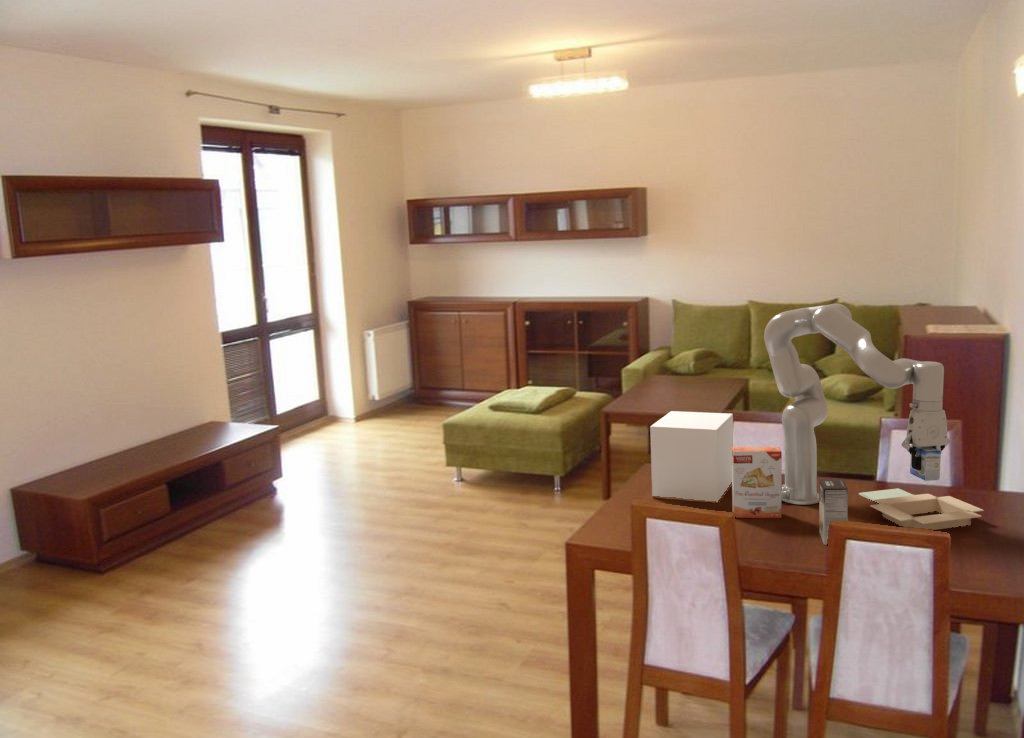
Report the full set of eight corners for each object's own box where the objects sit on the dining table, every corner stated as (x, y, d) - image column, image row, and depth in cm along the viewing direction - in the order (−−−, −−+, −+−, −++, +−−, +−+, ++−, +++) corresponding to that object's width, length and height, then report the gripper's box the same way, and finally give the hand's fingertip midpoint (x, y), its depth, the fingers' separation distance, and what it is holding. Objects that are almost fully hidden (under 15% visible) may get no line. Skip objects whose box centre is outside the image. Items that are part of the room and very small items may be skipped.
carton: (909, 538, 228) (909, 524, 227) (861, 514, 249) (861, 501, 249) (993, 528, 232) (994, 514, 232) (939, 504, 254) (940, 492, 253)
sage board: (885, 507, 254) (886, 505, 254) (858, 494, 267) (858, 492, 267) (927, 502, 256) (927, 500, 256) (898, 490, 270) (898, 488, 270)
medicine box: (909, 473, 243) (910, 444, 241) (924, 472, 243) (925, 443, 242) (925, 481, 235) (926, 451, 234) (940, 480, 235) (941, 450, 234)
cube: (672, 478, 298) (671, 411, 294) (733, 483, 288) (732, 413, 285) (652, 499, 276) (650, 426, 272) (717, 505, 266) (716, 429, 263)
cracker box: (733, 518, 251) (732, 451, 248) (732, 512, 257) (731, 446, 254) (782, 519, 249) (781, 450, 246) (779, 512, 255) (779, 445, 251)
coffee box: (818, 533, 235) (818, 478, 233) (842, 534, 234) (842, 478, 232) (823, 545, 227) (823, 487, 224) (848, 545, 225) (849, 488, 223)
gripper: (908, 410, 231) (906, 474, 234) (963, 405, 234) (960, 469, 237) (891, 405, 238) (889, 467, 241) (945, 400, 241) (942, 462, 244)
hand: (924, 467), depth 239 cm, fingers closed on medicine box, 4 cm apart
